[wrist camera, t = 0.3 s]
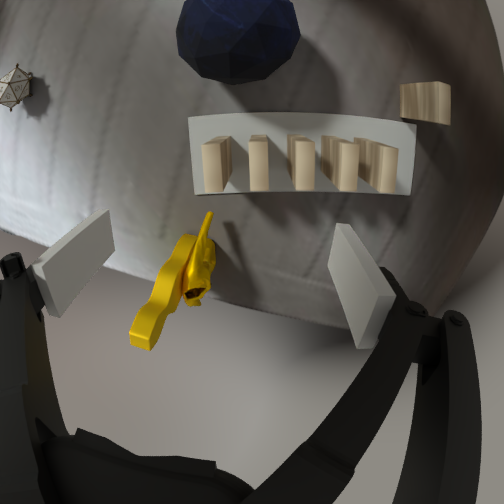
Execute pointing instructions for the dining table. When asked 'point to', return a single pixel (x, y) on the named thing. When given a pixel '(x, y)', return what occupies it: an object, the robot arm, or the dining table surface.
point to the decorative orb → (237, 38)
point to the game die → (14, 87)
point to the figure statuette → (176, 285)
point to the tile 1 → (217, 163)
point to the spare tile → (426, 102)
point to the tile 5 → (377, 164)
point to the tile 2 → (258, 163)
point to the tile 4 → (340, 162)
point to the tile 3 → (301, 161)
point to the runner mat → (276, 133)
